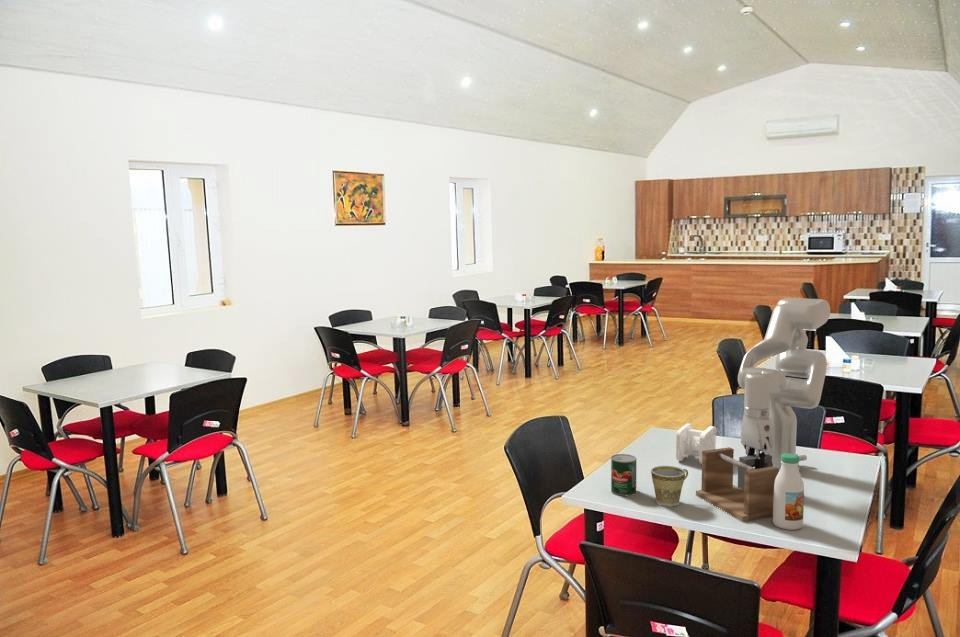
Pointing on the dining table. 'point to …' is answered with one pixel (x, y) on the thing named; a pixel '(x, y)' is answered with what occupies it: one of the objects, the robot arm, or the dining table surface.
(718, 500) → the wooden rod bracket
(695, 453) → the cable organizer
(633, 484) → the canned tomato
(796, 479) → the milk bottle
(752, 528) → the dining table surface
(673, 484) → the ceramic cup
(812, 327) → the robot arm
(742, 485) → the grey arch block
